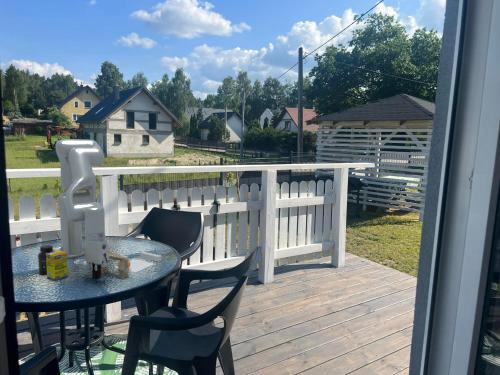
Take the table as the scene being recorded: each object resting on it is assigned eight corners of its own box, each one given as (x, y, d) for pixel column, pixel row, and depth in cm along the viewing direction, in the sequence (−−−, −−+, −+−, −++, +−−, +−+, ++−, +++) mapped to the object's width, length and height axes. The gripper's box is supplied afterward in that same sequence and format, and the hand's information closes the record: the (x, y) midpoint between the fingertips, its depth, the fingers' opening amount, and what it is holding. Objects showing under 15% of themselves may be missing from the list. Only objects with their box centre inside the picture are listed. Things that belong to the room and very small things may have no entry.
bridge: (123, 279, 160) (122, 258, 158) (99, 272, 166) (98, 252, 165) (128, 276, 162) (128, 256, 161) (104, 270, 169) (103, 250, 167)
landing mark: (135, 272, 167) (135, 272, 167) (114, 267, 173) (114, 267, 173) (155, 264, 178) (155, 263, 178) (134, 259, 184) (134, 259, 184)
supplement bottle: (35, 275, 161) (33, 248, 159) (45, 269, 168) (43, 243, 166) (50, 276, 161) (49, 249, 159) (59, 270, 167) (58, 244, 166)
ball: (118, 274, 167) (118, 263, 165) (117, 267, 171) (116, 257, 169) (131, 271, 169) (131, 261, 167) (129, 265, 174) (129, 255, 172)
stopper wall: (159, 261, 182) (159, 256, 181) (140, 257, 187) (140, 252, 187) (161, 260, 184) (161, 255, 183) (143, 256, 189) (143, 251, 188)
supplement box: (54, 281, 155) (53, 256, 154) (46, 278, 158) (45, 253, 157) (68, 277, 160) (67, 252, 159) (60, 273, 163) (59, 249, 162)
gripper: (115, 236, 153) (116, 279, 156) (90, 231, 160) (91, 272, 162) (100, 240, 147) (102, 285, 149) (74, 235, 153) (76, 277, 156)
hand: (96, 278), depth 156 cm, fingers closed
